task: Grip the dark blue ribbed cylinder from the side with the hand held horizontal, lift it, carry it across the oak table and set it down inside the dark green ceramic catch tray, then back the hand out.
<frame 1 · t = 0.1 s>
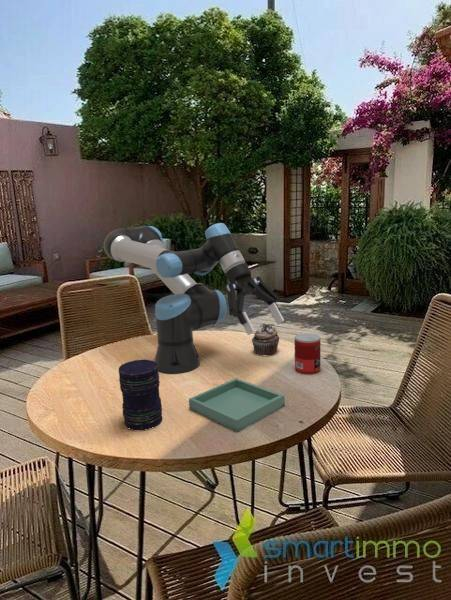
hand: (266, 327, 140), 15 cm above the table, tool tilted 35°, fingers open, 13 cm apart
dark blue ribbed cylinder: (143, 421, 118), on the table
canned food: (307, 370, 146), on the table
catch tray: (236, 407, 123), on the table
cupcake: (265, 352, 163), on the table
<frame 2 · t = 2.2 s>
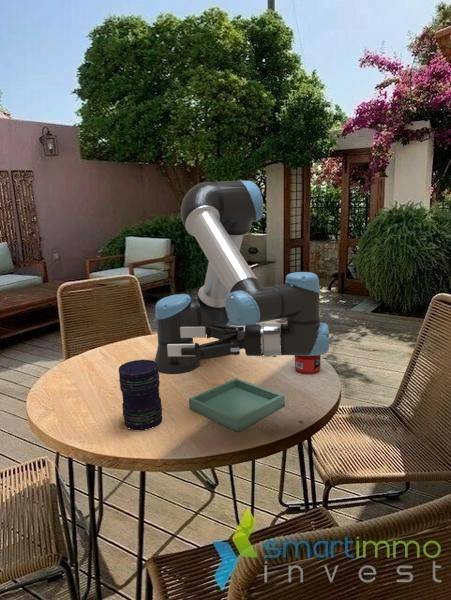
hand: (174, 340, 112), 22 cm above the table, tool horizontal, fingers open, 13 cm apart
nothing on the table moved.
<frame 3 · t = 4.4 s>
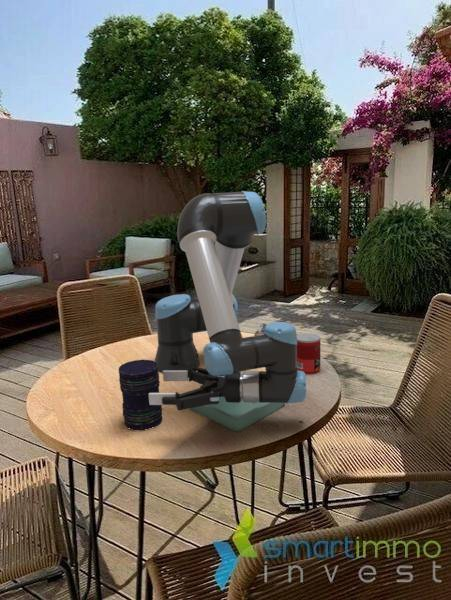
hand: (156, 386, 115), 10 cm above the table, tool horizontal, fingers open, 13 cm apart
nothing on the table moved.
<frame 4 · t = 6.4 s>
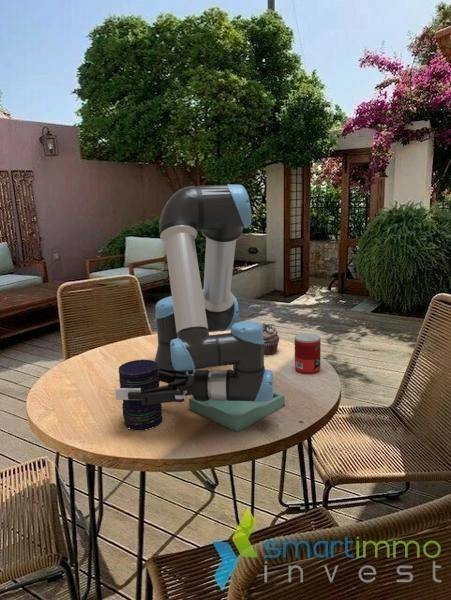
hand: (123, 384, 116), 10 cm above the table, tool horizontal, fingers closed on dark blue ribbed cylinder, 10 cm apart
dark blue ribbed cylinder: (143, 421, 118), on the table, touching gripper
everything else where it was.
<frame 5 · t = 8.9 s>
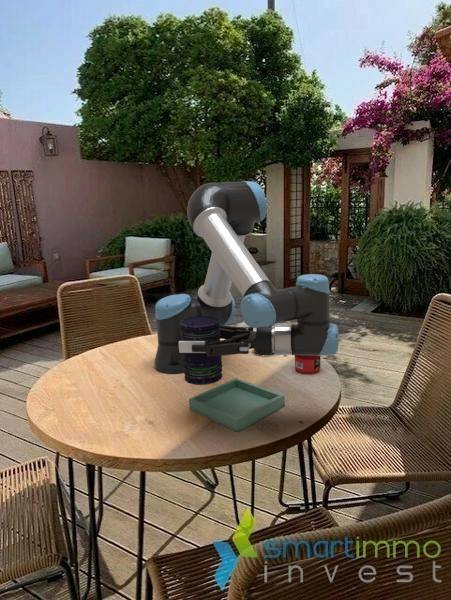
hand: (184, 339, 116), 20 cm above the table, tool horizontal, fingers closed on dark blue ribbed cylinder, 10 cm apart
dark blue ribbed cylinder: (203, 378, 118), point 10 cm above the table, touching gripper
everything else where it was.
when the fingers open (12 cm above the table, at t = 11.4 s): dark blue ribbed cylinder drops 1 cm, resting on catch tray.
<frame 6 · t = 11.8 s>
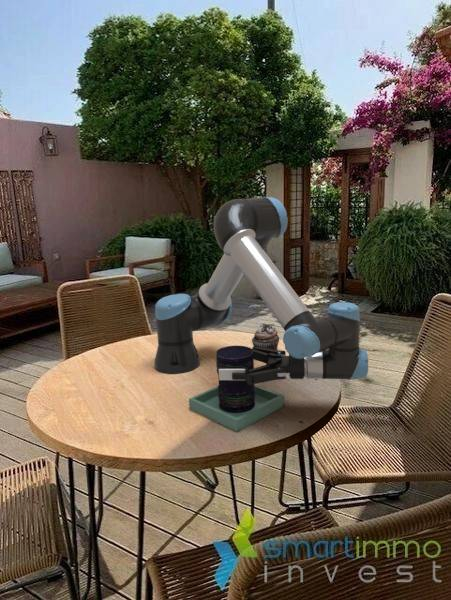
hand: (222, 364, 120), 12 cm above the table, tool horizontal, fingers open, 13 cm apart
dark blue ribbed cylinder: (237, 405, 123), point 1 cm above the table, touching catch tray
everything else where it was.
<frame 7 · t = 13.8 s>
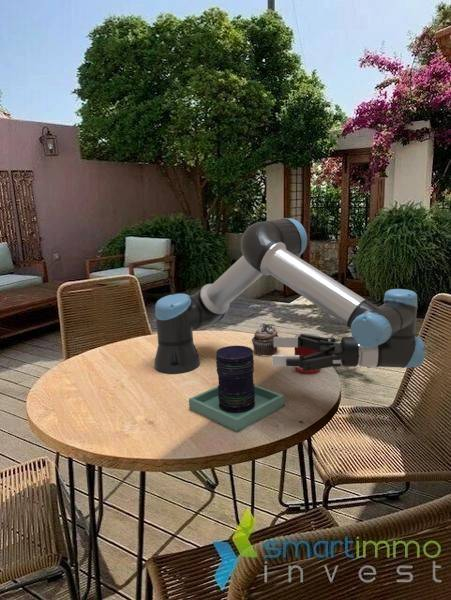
hand: (272, 350, 119), 16 cm above the table, tool horizontal, fingers open, 13 cm apart
nothing on the table moved.
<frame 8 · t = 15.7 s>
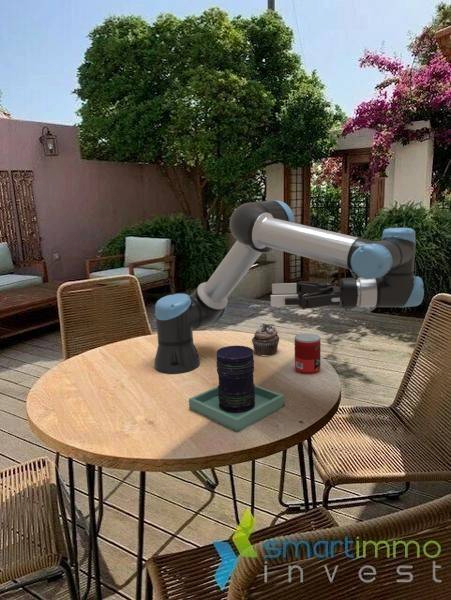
hand: (271, 294, 118), 30 cm above the table, tool horizontal, fingers open, 13 cm apart
nothing on the table moved.
at the end: dark blue ribbed cylinder inside the target area on the catch tray (0.1 cm from its centre), point 0.6 cm above the catch tray's base; dark blue ribbed cylinder tilted 0°; the gripper is holding nothing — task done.
